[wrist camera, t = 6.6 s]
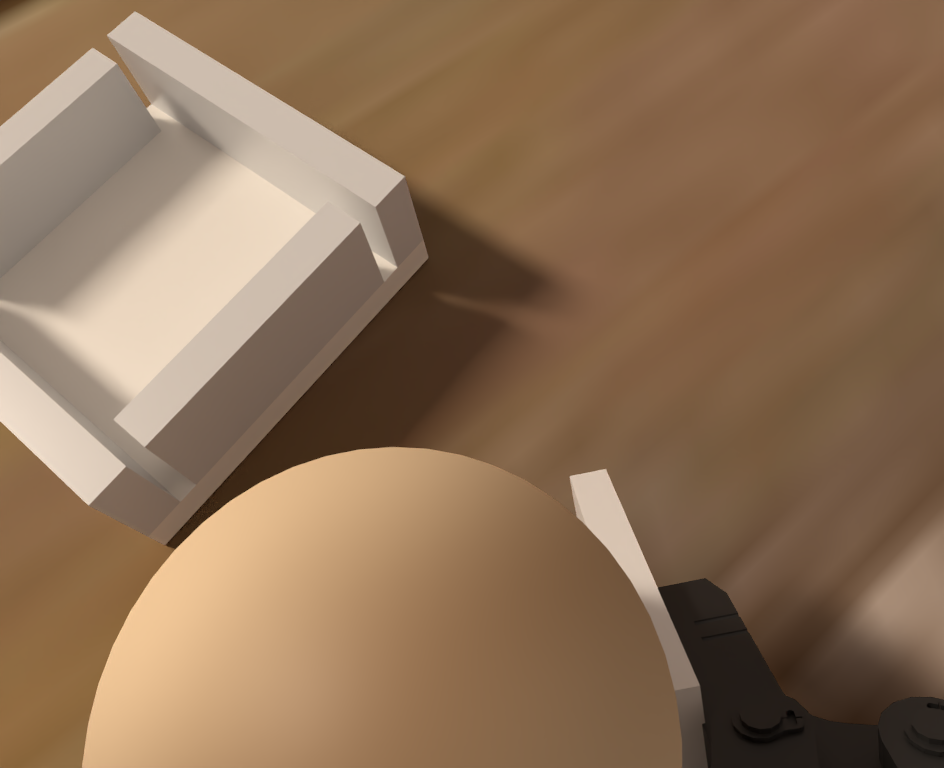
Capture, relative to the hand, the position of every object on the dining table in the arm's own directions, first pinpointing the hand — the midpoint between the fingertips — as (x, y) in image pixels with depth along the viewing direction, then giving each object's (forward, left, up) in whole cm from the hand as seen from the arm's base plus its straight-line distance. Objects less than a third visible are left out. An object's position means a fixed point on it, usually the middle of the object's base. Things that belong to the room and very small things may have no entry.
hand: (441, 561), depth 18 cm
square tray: (-13, +2, -4) cm, 14 cm away
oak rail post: (+3, -2, -4) cm, 6 cm away
